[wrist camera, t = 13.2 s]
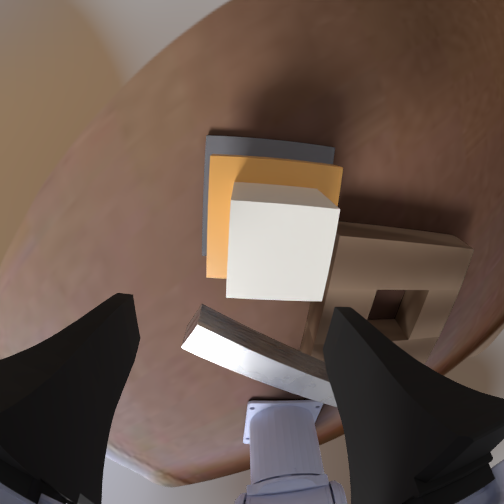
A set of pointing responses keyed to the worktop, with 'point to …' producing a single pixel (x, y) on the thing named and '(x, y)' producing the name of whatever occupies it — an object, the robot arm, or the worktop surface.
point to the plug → (271, 226)
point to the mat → (259, 149)
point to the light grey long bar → (256, 355)
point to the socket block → (391, 283)
